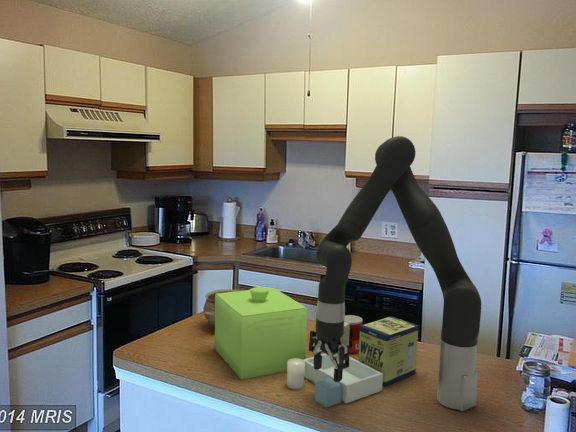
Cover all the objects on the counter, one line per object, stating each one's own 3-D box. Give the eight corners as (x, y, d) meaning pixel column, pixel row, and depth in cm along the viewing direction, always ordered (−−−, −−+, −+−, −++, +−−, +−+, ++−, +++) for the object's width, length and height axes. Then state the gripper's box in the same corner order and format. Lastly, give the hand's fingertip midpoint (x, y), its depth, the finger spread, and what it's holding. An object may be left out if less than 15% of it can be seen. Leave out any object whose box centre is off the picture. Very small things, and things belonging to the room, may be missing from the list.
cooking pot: (230, 313, 202) (231, 284, 201) (267, 323, 192) (268, 292, 190) (186, 330, 182) (186, 298, 180) (225, 342, 171) (226, 308, 170)
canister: (214, 349, 166) (215, 282, 163) (272, 339, 175) (273, 276, 172) (240, 380, 143) (242, 303, 141) (305, 367, 153) (307, 295, 150)
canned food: (360, 346, 171) (362, 315, 170) (361, 355, 163) (363, 323, 162) (338, 344, 172) (339, 314, 170) (338, 353, 164) (340, 322, 163)
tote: (382, 390, 139) (382, 373, 138) (346, 403, 131) (346, 385, 130) (336, 365, 155) (337, 350, 154) (302, 375, 147) (302, 359, 146)
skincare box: (337, 355, 163) (338, 319, 161) (348, 358, 160) (350, 322, 159) (327, 361, 157) (328, 325, 156) (339, 365, 155) (340, 328, 153)
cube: (340, 402, 132) (341, 385, 131) (326, 407, 129) (327, 389, 128) (328, 395, 136) (329, 377, 135) (314, 399, 133) (315, 382, 132)
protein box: (357, 374, 149) (359, 325, 147) (389, 362, 159) (391, 315, 157) (384, 387, 141) (386, 335, 139) (416, 373, 151) (419, 324, 149)
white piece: (307, 386, 140) (308, 363, 139) (293, 390, 137) (294, 367, 137) (297, 379, 144) (298, 357, 143) (283, 383, 141) (284, 360, 141)
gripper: (359, 322, 126) (355, 382, 128) (324, 307, 138) (321, 362, 140) (336, 327, 122) (333, 389, 124) (303, 311, 134) (300, 367, 136)
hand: (327, 374), depth 132 cm, fingers open, 8 cm apart
